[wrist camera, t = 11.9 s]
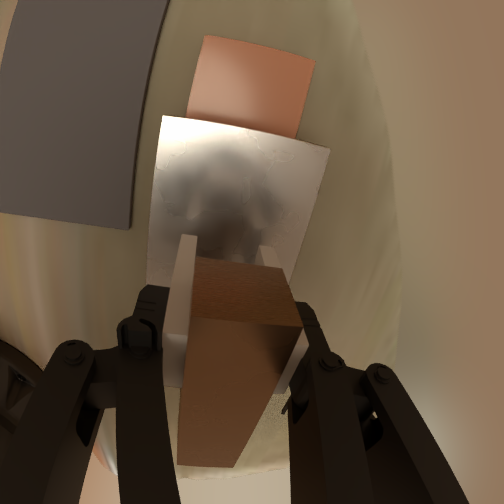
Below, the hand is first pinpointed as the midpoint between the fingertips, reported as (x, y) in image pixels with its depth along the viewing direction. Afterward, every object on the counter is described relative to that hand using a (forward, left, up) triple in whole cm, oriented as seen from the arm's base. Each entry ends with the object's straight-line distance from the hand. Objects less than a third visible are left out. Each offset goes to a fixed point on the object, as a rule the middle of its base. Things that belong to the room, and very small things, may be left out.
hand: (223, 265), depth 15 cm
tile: (0, +4, -7) cm, 8 cm away
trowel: (0, -1, -2) cm, 2 cm away
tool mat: (-13, +9, -7) cm, 17 cm away
